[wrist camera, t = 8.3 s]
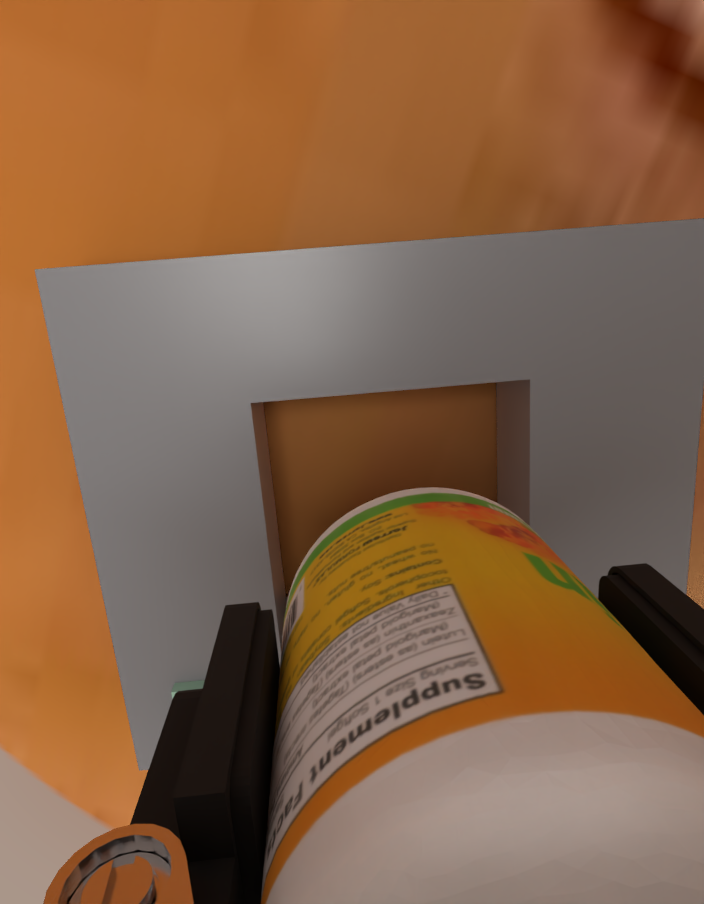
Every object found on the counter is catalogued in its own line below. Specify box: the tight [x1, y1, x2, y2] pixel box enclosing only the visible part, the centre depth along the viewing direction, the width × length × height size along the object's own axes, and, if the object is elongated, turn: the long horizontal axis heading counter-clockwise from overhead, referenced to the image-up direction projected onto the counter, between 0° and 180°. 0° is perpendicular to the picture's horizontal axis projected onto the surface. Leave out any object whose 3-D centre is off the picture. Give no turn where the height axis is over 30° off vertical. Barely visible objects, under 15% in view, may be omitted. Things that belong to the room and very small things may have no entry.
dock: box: [35, 218, 704, 770], centre depth 17 cm, size 16×14×3 cm
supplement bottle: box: [261, 487, 704, 904], centre depth 7 cm, size 5×5×10 cm
